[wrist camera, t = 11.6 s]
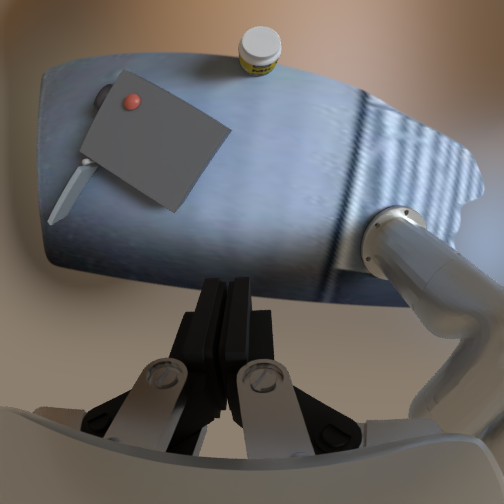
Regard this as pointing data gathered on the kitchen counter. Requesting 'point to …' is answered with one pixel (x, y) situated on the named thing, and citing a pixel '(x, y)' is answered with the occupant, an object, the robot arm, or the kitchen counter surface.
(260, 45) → the supplement bottle
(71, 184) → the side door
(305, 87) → the kitchen counter surface
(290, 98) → the kitchen counter surface
